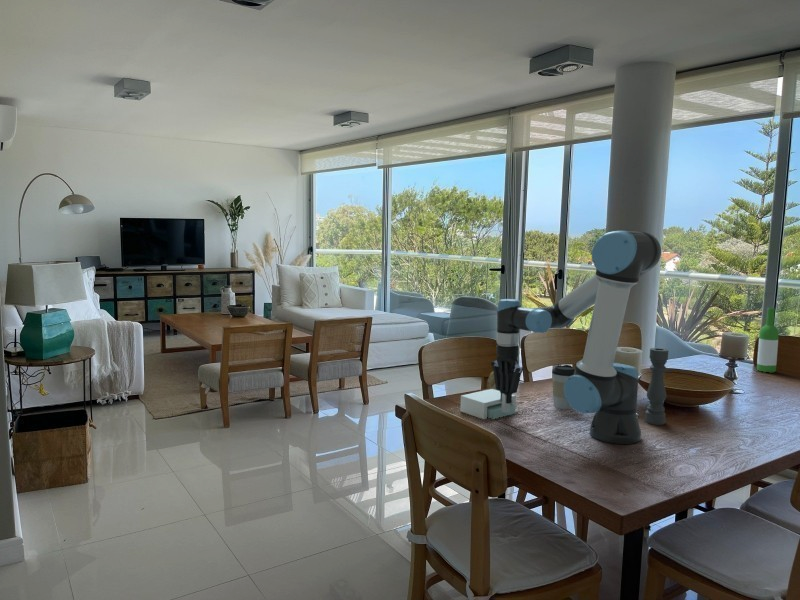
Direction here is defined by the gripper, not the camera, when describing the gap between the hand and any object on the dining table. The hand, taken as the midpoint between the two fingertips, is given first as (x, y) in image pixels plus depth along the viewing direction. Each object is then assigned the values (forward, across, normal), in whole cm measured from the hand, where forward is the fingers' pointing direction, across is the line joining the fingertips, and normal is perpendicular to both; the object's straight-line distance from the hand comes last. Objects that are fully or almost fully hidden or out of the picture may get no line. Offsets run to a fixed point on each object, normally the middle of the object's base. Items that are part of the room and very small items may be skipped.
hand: (505, 411), depth 207 cm
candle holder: (+2, -34, -37) cm, 50 cm away
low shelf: (+2, +8, 0) cm, 8 cm away
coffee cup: (+2, -4, -27) cm, 27 cm away
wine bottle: (+2, -25, -153) cm, 155 cm away
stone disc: (+2, +21, -19) cm, 28 cm away
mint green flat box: (+2, +6, 0) cm, 6 cm away
